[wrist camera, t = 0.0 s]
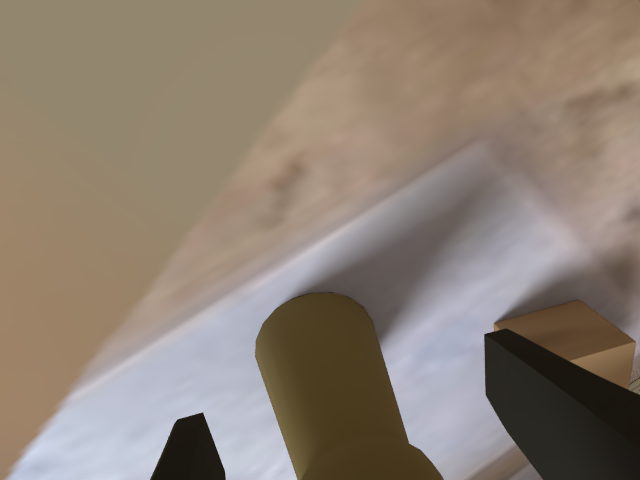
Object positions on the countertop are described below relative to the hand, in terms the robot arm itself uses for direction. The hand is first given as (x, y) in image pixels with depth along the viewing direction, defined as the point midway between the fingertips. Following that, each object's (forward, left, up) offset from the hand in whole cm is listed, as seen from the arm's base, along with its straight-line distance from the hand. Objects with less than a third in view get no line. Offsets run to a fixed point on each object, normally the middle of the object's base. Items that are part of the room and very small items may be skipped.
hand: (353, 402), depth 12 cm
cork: (-6, 0, -10) cm, 12 cm away
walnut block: (-10, -12, -10) cm, 19 cm away
